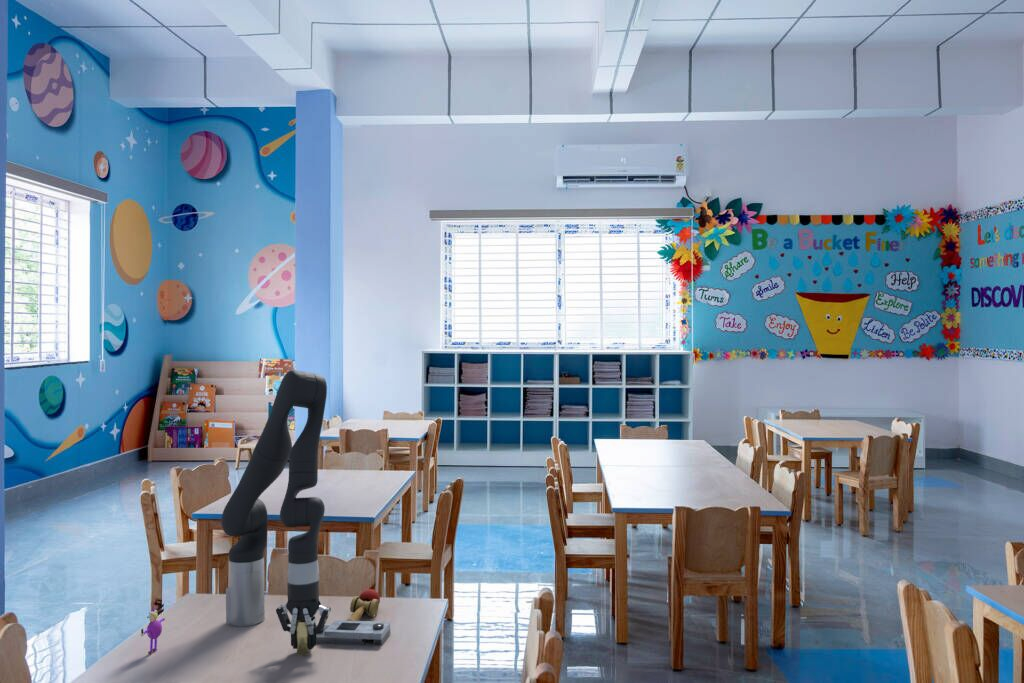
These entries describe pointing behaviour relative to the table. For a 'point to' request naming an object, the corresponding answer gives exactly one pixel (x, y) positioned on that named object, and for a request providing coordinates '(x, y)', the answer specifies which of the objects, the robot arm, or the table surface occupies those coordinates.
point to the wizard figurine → (154, 627)
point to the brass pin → (302, 638)
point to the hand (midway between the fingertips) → (303, 647)
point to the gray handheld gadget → (354, 632)
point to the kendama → (364, 604)
